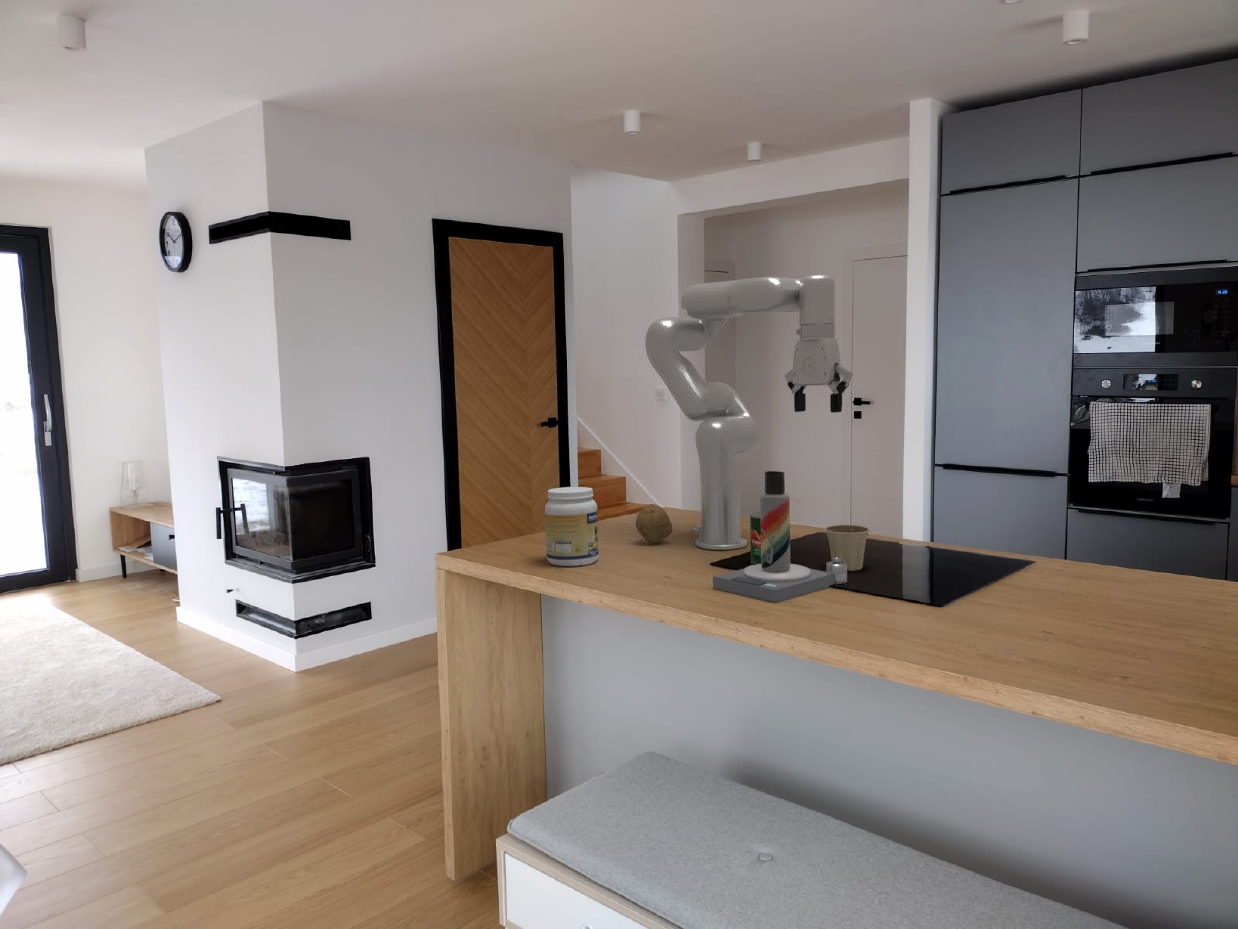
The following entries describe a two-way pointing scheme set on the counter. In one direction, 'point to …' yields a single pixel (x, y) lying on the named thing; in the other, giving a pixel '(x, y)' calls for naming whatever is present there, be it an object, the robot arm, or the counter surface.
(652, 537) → the brown rounded lump
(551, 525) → the supplement tub
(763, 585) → the kitchen scale
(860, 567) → the flower pot
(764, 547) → the lotion bottle
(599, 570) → the counter surface
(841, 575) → the calibration weight
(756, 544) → the canned tomato
